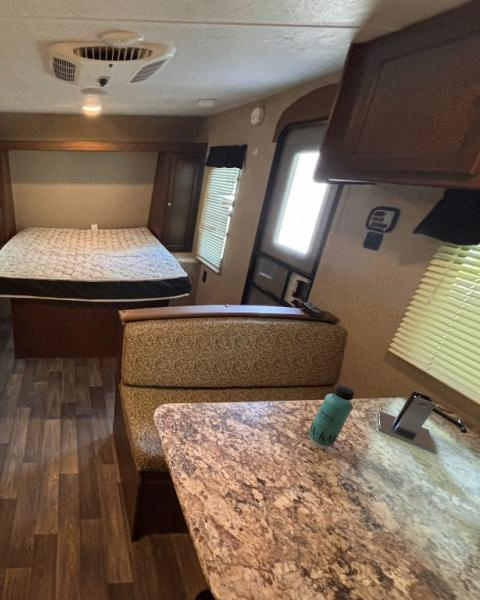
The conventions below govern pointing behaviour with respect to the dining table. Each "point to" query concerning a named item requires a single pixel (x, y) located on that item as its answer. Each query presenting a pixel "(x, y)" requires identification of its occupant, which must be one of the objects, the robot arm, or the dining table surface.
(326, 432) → the beverage bottle
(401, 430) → the bracket
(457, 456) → the dining table surface
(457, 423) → the lever
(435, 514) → the dining table surface
